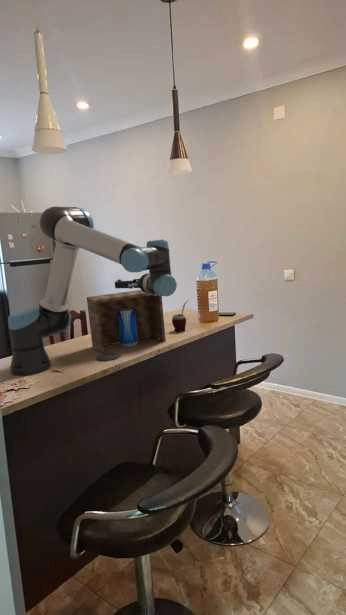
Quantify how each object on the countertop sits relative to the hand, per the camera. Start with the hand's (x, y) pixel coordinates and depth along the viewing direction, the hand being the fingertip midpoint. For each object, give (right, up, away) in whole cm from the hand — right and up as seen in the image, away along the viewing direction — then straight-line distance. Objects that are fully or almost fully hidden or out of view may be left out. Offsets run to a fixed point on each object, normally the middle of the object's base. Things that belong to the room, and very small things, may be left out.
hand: (132, 281), depth 172 cm
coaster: (-10, -32, -3) cm, 33 cm away
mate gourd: (+21, -23, +36) cm, 47 cm away
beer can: (-3, -28, +17) cm, 33 cm away
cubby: (-3, -28, +16) cm, 33 cm away
